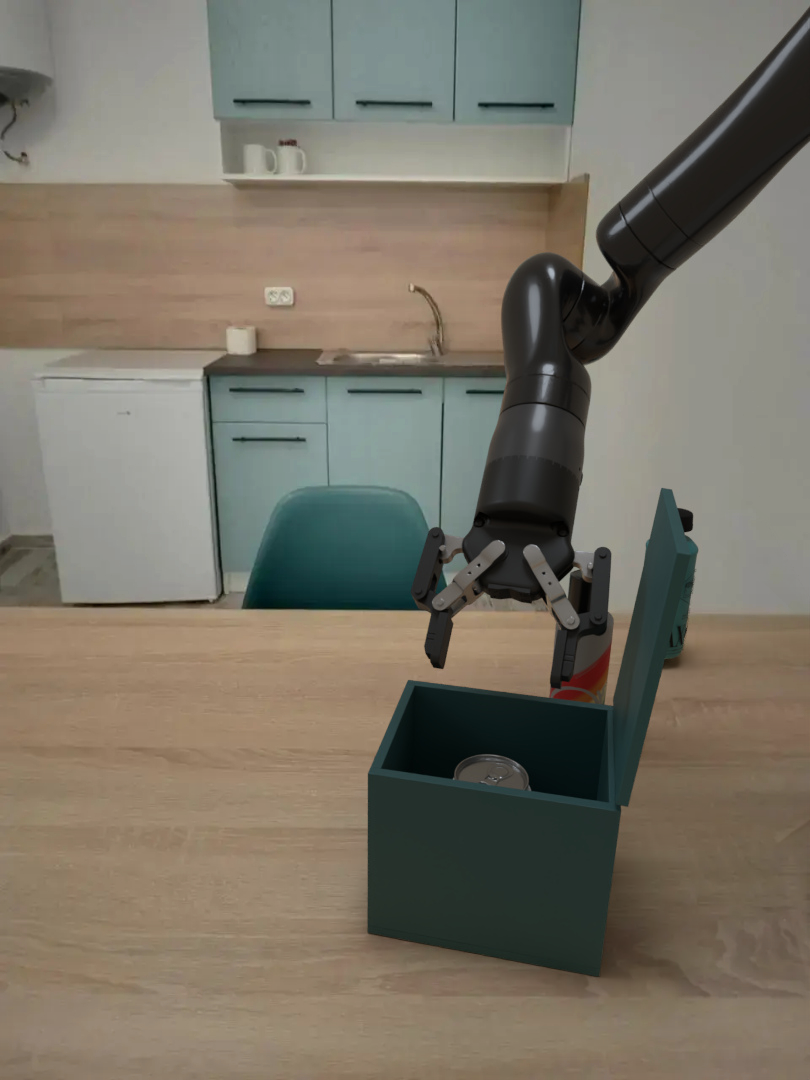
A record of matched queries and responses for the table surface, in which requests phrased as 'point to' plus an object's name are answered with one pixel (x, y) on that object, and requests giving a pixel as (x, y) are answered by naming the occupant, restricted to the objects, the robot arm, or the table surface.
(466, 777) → the can
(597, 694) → the lotion bottle
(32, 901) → the table surface
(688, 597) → the beverage bottle
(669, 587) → the lid
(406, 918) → the dark teal storage box
